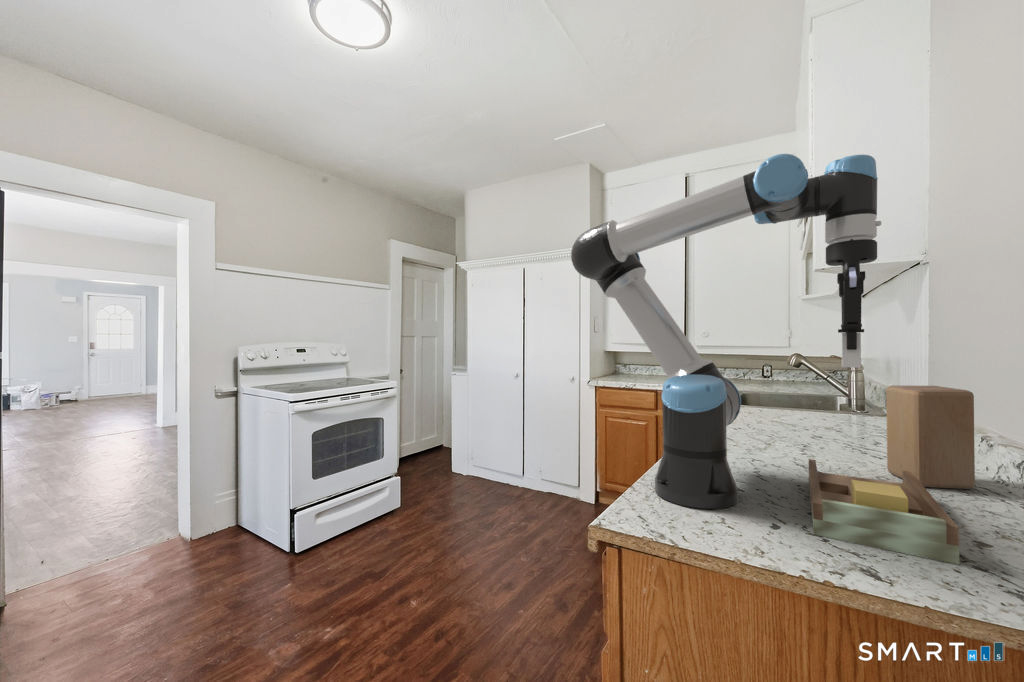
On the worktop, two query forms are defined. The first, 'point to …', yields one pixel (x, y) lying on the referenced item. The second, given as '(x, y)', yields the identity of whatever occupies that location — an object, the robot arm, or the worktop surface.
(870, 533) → the tray
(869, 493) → the ochre block
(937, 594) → the worktop surface
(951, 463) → the block
